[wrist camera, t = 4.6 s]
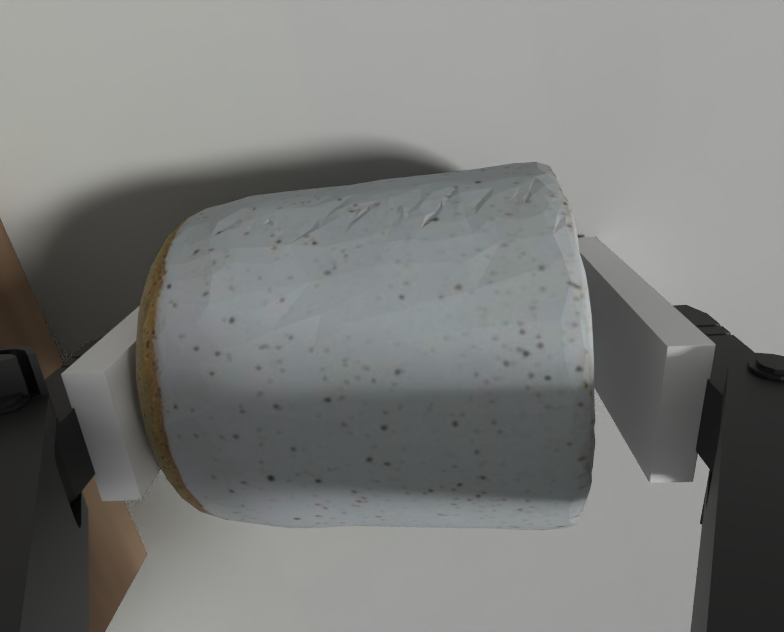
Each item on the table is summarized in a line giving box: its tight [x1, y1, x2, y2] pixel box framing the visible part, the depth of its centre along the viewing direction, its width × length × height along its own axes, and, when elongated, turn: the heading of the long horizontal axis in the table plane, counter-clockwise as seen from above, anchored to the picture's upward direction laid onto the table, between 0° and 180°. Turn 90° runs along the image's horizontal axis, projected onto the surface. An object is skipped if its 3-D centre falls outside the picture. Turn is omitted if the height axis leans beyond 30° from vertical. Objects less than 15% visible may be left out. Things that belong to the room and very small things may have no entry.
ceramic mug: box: [136, 162, 595, 530], centre depth 13 cm, size 11×8×8 cm
